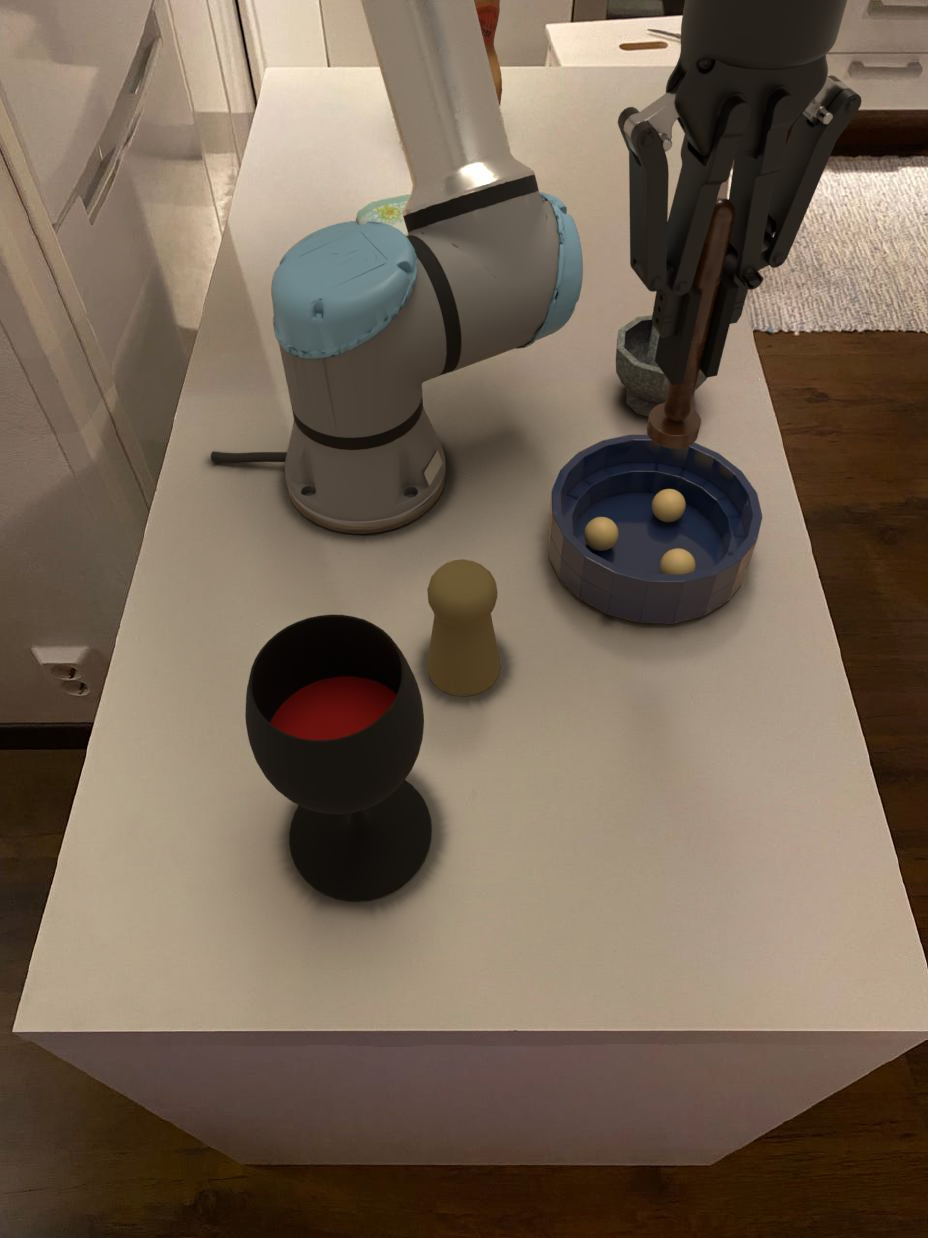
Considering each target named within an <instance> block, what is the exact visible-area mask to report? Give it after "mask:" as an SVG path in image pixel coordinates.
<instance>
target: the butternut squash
mask: <svg viewBox="0 0 928 1238" xmlns="http://www.w3.org/2000/svg"><path fill="white" fill-rule="evenodd" d="M474 3H475V7H476V11H477V15H478V19H479V23H480V28H481V32H482V36H483V40H484V44H485V48H486V52H487V56H488V61H489V65H490V69H491V73H492V77H493V81H494V85H495V89H496V93H497V98H498V102H499V106H500V107H501V102H502V93H503V79H502V78H503V77H502V71H501V65H500V62H499V58H498V54H497V52H496V49H495V48H496V47H495V35H496V32H497V27H498V23H499V17H500V13H501V12H500V11H501V8H500V4H501V0H474Z"/></svg>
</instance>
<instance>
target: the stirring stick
mask: <svg viewBox="0 0 928 1238" xmlns="http://www.w3.org/2000/svg"><path fill="white" fill-rule="evenodd" d="M734 219H735V208H734V205H733V203H732V202H731V201H730V200H729V198H727V197H723V196H722V197H721V196H719V197H717V200H716V204H715V207H714V211H713V214H712V218H711V221H710V225H709V228H708V231H707V235H706V238H705V242H704V245H703V249H702V252H701V256H700V259H699V262H698V266H697V269H696V273H695V276H694V280H693V283H692V284H693V285H694V286H695V287H696V288H697V289H698V290H699V292H700V293H701V294H702V295H701V300H700V305H699V309H698V314H697V319H696V323H695V328H694V333H693V337H692V342H691V347H690V351H689V356H688V360H687V365H686V370H685V374H684V379H683V383H680V384H675V385H672V384H671V383H670V382H669V385H668V390H667V395H666V400H665V403H662V404H660V405H657V406H656V407H654V408H653V409H652V410H651V412H650V414H649V417H648V419H647V425H646V433H647V434H646V435H648V436H649V437H650V439H651V440H652V441H653V442H655V443H656V444H658V445H660V446H663V447H666V448H671V449H679V448H685V447H688V446H690V445H691V444H693V443H694V442H695V443H696V441H697V440H698V437H699V433H700V430H701V425H702V417H701V416H700V414H699V413H698V411H697V410H696V409H694V408H693V407H692V406H693V401H694V397H695V392H696V390H697V389H696V384H697V380H698V375H699V371H700V367H701V362H702V358H703V354H704V349H705V345H706V341H707V336H708V332H709V328H710V323H711V319H712V314H713V310H714V306H715V301H716V297H717V293H718V288H719V284H720V280H721V275H722V271H723V266H724V262H725V258H726V253H727V249H728V245H729V240H730V236H731V232H732V227H733V223H734ZM695 389H696V390H695Z"/></svg>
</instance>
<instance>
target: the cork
mask: <svg viewBox="0 0 928 1238" xmlns="http://www.w3.org/2000/svg"><path fill="white" fill-rule="evenodd" d="M426 590H427V600H428V605H429V606H430V609H431V611H432V612H433V621H432V628H431V635H430V642H429V649H428V655H427V662H426V667H427V674H428V676H429V678H430V680H431V682H432V684H433V685H435V686H436V687H437V688H438V689H439V690H440V691H443V692H444V693H447V694H449V695H453V696H457V697H467V696H470V697H471V696H474V695H478V694H480V693H483V692H485V691H486V690H488V689H490V688H491V687H492V686H493V685H494V684H495V682H496V681H497V679H498V678H499V675H500V673H501V672H500V671H501V667H502V666H501V665H502V664H501V659H500V653H499V648H498V644H497V638H496V633H495V628H494V627H495V626H494V623H493V617H492V613H493V611H494V609H495V607H496V603H497V600H498V586H497V582H496V579H495V578H494V576H493V573H491V571H490V570H488V569H487V567H485V566H484V565H483V564H482V563H479V562H477V561H475V560H471V559H470V560H469V559H454V560H452V561H447V562H446V563H444V564H443V565H441V566H439V568H437V569H436V570H435V571H434V573H433V574H432V575H431V577H430V579H429V583H428V586H427V588H426Z"/></svg>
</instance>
